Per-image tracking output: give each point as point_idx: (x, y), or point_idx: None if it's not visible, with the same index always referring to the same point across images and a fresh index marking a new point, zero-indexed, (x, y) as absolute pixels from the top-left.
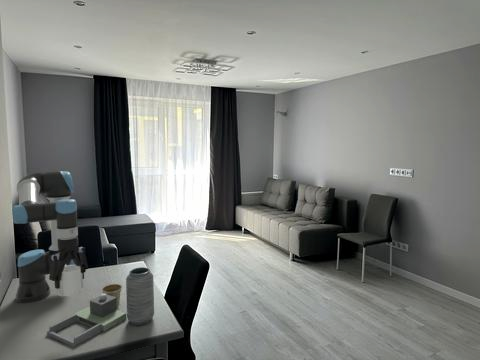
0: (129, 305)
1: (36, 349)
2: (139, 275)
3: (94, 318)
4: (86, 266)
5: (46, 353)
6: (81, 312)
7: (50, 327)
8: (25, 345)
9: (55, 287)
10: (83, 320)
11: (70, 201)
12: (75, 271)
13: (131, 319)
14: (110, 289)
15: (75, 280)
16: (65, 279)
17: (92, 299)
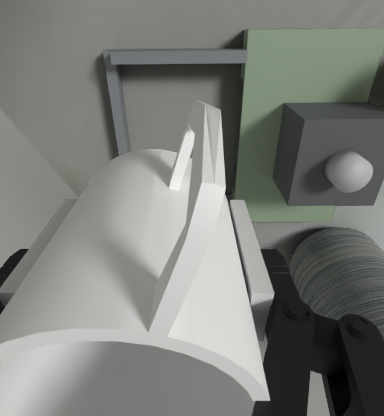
0: (308, 301)
1: (44, 114)
2: None
3: (256, 156)
4: (341, 396)
5: (61, 164)
6: (277, 52)
7: (111, 63)
8: (19, 46)
9: (14, 261)
10: (239, 109)
11: None
12: None
13: (291, 269)
14: None
15: (144, 357)
16: (61, 359)
17: (322, 119)
